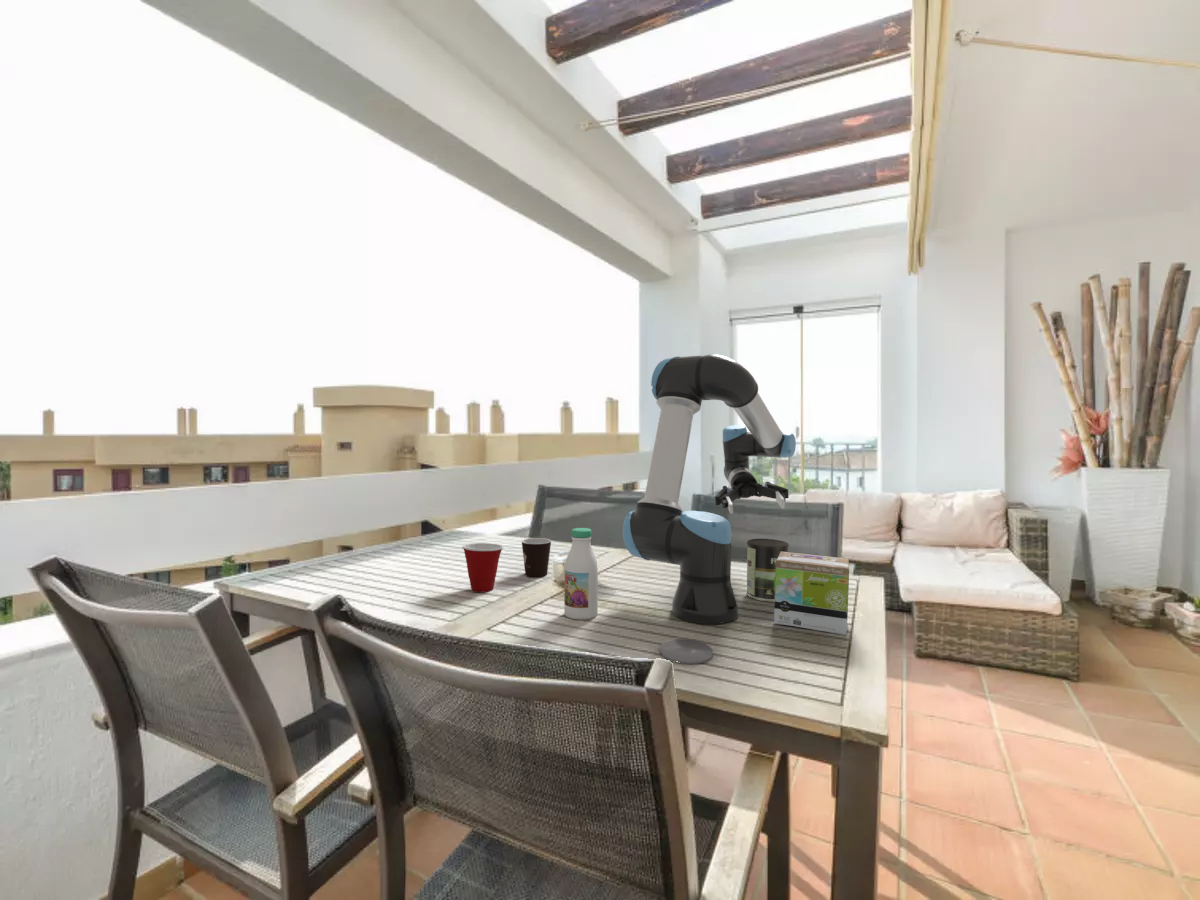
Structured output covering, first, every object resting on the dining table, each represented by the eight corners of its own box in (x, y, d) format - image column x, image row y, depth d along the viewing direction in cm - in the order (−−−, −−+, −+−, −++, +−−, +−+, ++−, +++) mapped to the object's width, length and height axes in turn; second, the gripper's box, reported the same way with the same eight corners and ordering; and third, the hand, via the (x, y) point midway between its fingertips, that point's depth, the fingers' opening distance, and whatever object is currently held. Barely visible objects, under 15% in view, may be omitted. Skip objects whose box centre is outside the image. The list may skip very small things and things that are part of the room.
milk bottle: (581, 607, 131) (582, 525, 131) (604, 615, 126) (605, 529, 125) (557, 614, 126) (557, 528, 125) (579, 623, 121) (580, 533, 120)
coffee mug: (549, 578, 156) (549, 544, 156) (519, 578, 156) (519, 543, 156) (553, 568, 168) (553, 536, 167) (525, 568, 168) (525, 535, 167)
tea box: (773, 625, 120) (774, 559, 120) (777, 611, 129) (779, 550, 129) (847, 636, 114) (849, 566, 114) (847, 621, 123) (848, 556, 123)
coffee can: (796, 597, 140) (797, 543, 139) (769, 604, 134) (770, 548, 134) (763, 587, 149) (764, 536, 148) (737, 594, 143) (738, 540, 142)
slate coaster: (666, 665, 99) (666, 660, 99) (655, 643, 109) (655, 639, 109) (719, 663, 100) (719, 659, 100) (704, 642, 110) (704, 638, 110)
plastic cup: (512, 587, 147) (512, 543, 147) (483, 597, 138) (483, 551, 138) (482, 581, 153) (482, 538, 153) (453, 590, 144) (453, 545, 143)
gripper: (785, 490, 166) (805, 514, 145) (702, 498, 168) (711, 524, 148) (783, 466, 164) (804, 488, 144) (700, 475, 167) (709, 498, 146)
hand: (757, 506), depth 146 cm, fingers open, 13 cm apart
